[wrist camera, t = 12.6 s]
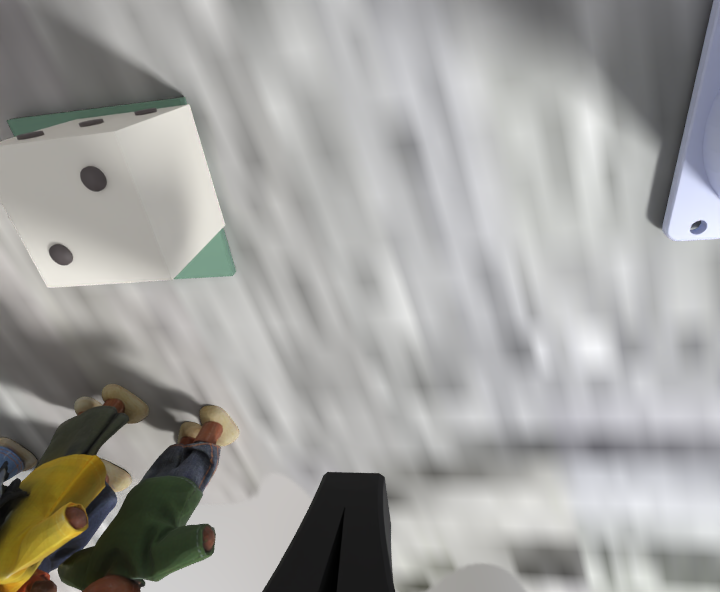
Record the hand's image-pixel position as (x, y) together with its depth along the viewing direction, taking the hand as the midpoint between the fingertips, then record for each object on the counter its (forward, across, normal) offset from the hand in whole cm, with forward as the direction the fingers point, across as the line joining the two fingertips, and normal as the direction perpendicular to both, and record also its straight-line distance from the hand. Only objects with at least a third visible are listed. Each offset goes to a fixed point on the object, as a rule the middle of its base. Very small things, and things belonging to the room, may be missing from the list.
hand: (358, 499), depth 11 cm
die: (+10, +8, -6) cm, 14 cm away
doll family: (+10, +19, +9) cm, 23 cm away
